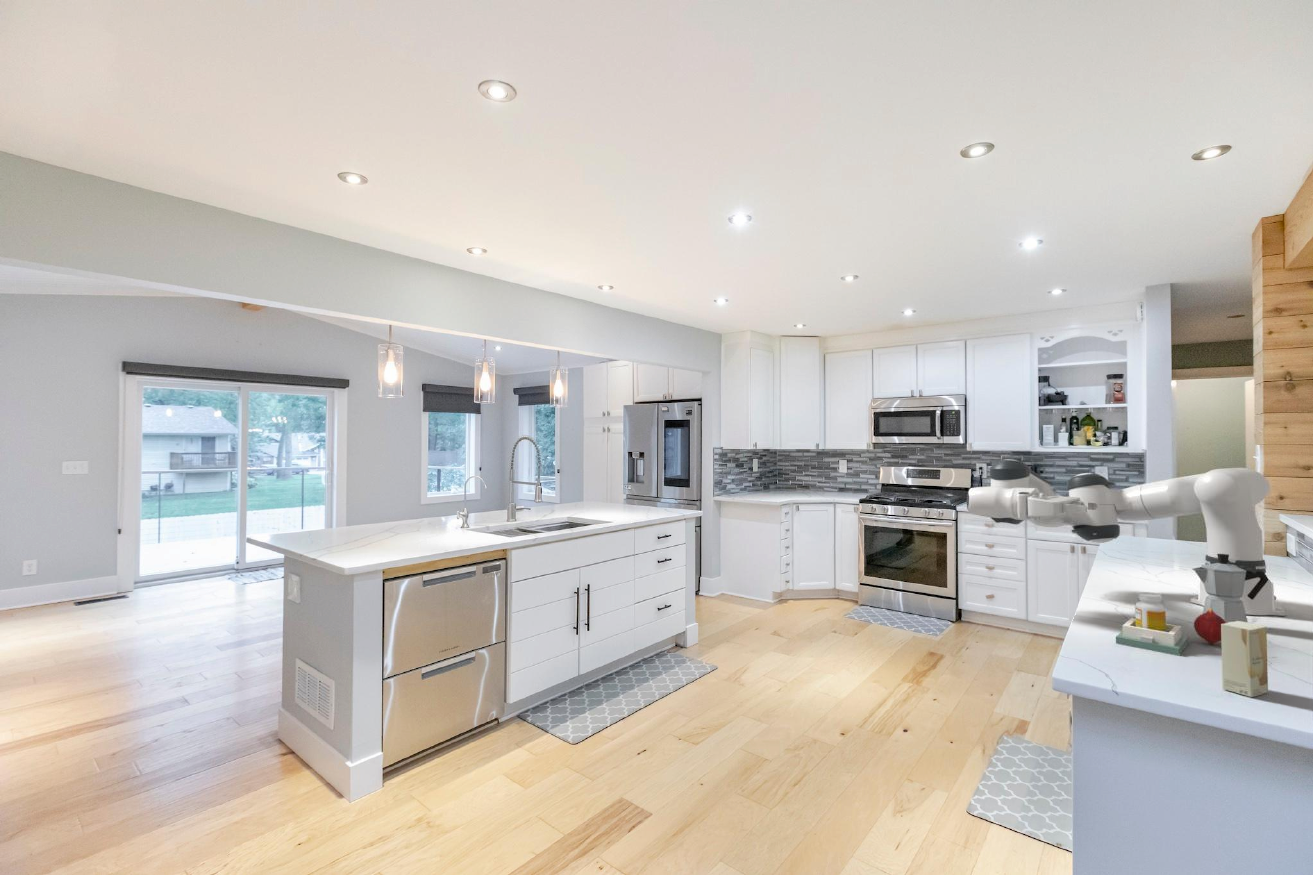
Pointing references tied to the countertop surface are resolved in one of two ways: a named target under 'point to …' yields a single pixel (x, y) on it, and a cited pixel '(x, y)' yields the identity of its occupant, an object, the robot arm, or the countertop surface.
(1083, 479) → the robot arm
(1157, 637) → the board
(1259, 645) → the skincare box
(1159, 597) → the supplement bottle
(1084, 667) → the countertop surface
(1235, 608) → the coffee maker
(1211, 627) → the onion
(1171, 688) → the countertop surface
